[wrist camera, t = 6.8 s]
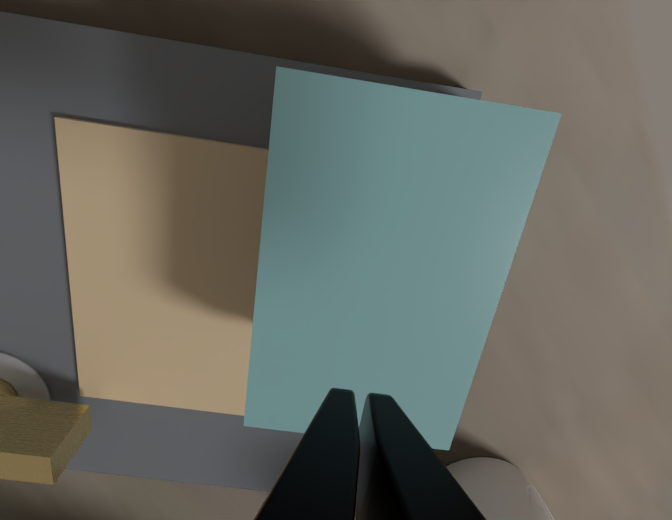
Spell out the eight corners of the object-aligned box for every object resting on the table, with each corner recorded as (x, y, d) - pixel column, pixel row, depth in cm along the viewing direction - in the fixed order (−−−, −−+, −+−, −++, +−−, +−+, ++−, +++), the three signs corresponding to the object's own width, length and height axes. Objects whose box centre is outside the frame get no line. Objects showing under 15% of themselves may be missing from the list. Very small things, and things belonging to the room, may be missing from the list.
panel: (371, 478, 24) (378, 552, 20) (-46, 430, 23) (-121, 499, 19) (469, 90, 16) (508, 93, 12) (-152, -14, 15) (-313, -44, 11)
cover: (431, 392, 17) (448, 450, 14) (258, 370, 16) (243, 426, 14) (515, 106, 13) (561, 113, 10) (289, 68, 12) (276, 66, 10)
